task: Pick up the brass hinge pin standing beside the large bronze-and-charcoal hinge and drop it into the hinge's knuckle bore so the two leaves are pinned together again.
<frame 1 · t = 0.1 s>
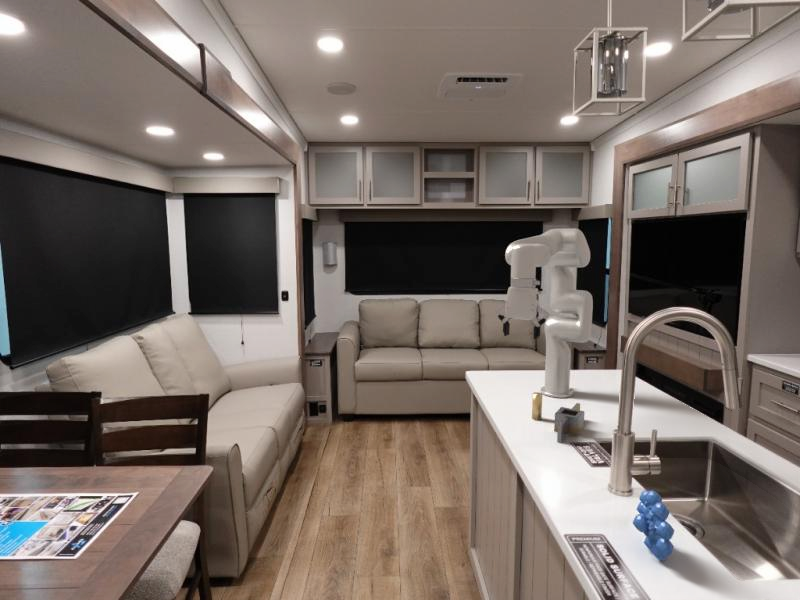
hand: (521, 336, 152), 31 cm above the table, tool pointing down, fingers open, 9 cm apart
grapes: (647, 551, 95), on the table
hinge: (569, 430, 155), on the table
hinge pin: (536, 418, 165), on the table
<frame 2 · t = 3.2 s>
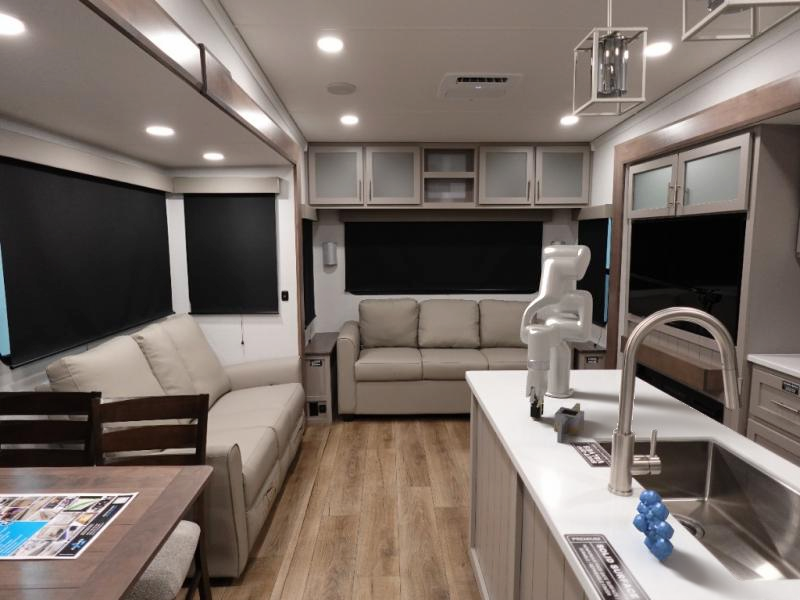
hand: (536, 415, 165), 1 cm above the table, tool pointing down, fingers closed on hinge pin, 3 cm apart
hinge pin: (536, 418, 165), on the table, touching gripper
everything else where it was.
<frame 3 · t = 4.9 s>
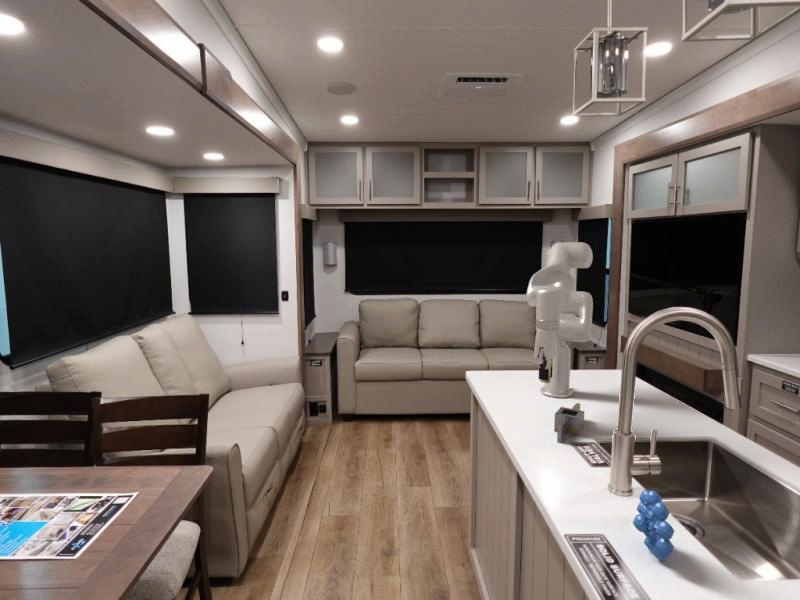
hand: (545, 377, 161), 15 cm above the table, tool pointing down, fingers closed on hinge pin, 3 cm apart
hinge pin: (545, 381, 161), point 14 cm above the table, touching gripper
everything else where it was.
when the fingers open (9 cm above the table, at t = 6.9 s): hinge pin drops 7 cm, resting in hinge.
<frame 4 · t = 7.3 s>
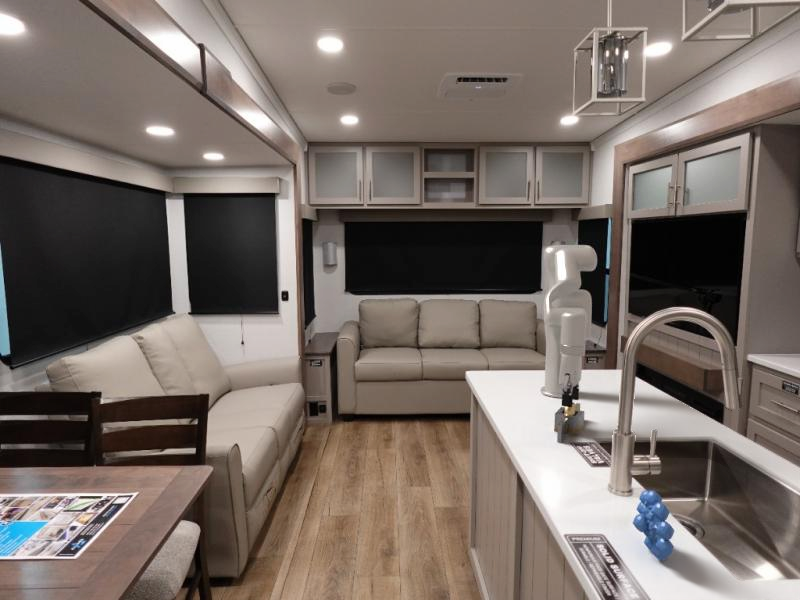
hand: (570, 402, 154), 9 cm above the table, tool pointing down, fingers open, 7 cm apart
hinge pin: (568, 430, 155), resting in hinge
everything else where it was.
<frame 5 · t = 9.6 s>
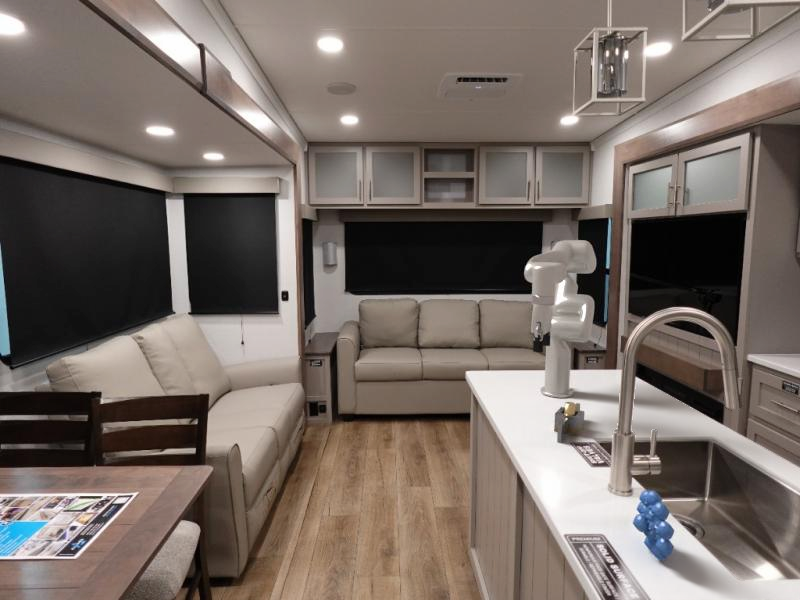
hand: (541, 348, 166), 24 cm above the table, tool pointing down, fingers open, 9 cm apart
nothing on the table moved.
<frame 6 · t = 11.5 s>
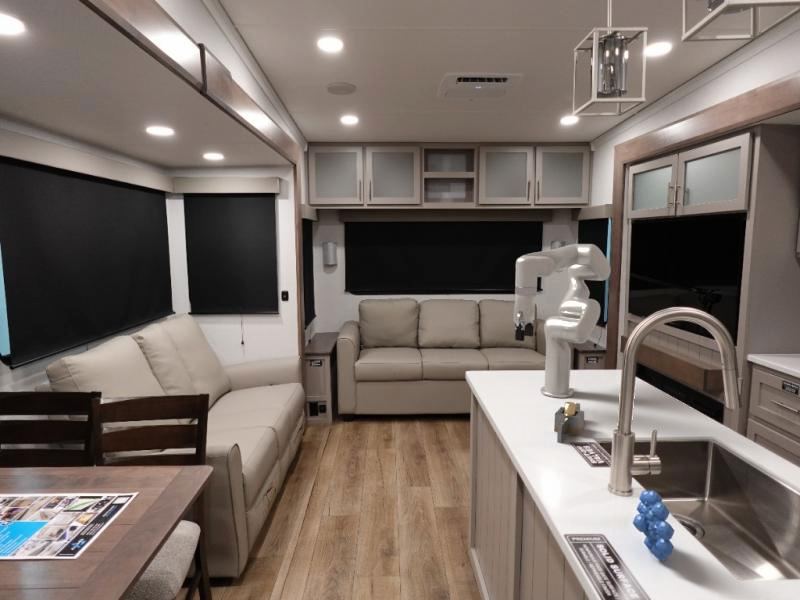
hand: (524, 338, 173), 26 cm above the table, tool pointing down, fingers open, 9 cm apart
nothing on the table moved.
at the end: hinge pin 0.0 cm off-centre on the hinge, point 0.0 cm above the hinge's base; hinge pin tilted 0°; the gripper is holding nothing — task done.
